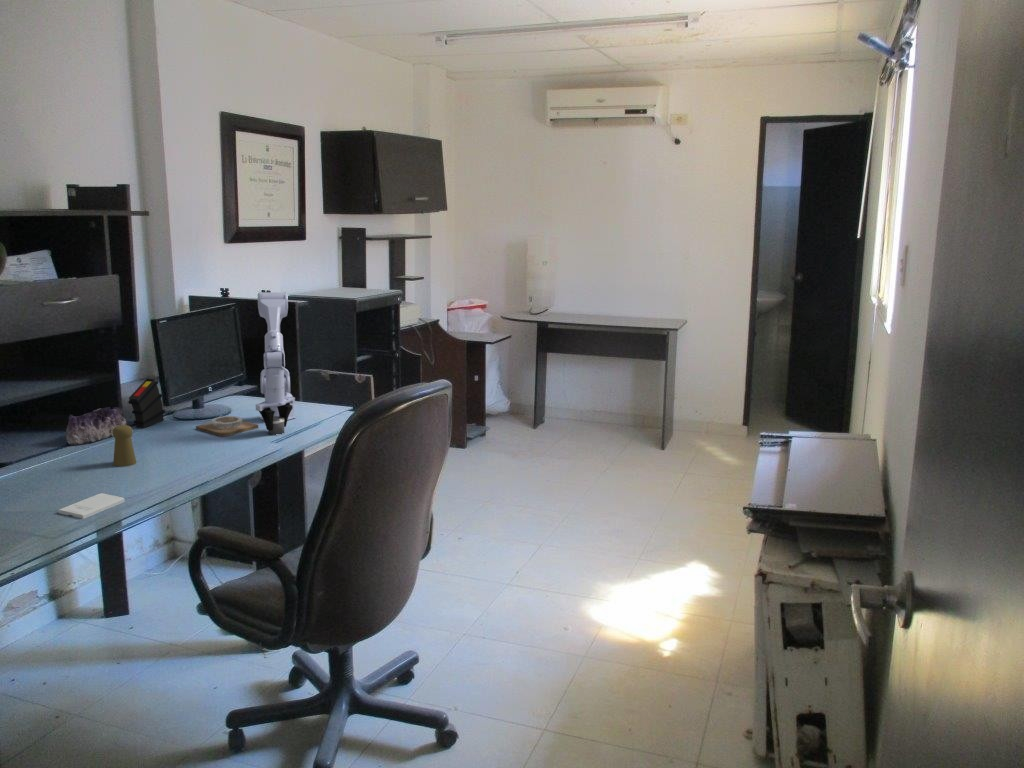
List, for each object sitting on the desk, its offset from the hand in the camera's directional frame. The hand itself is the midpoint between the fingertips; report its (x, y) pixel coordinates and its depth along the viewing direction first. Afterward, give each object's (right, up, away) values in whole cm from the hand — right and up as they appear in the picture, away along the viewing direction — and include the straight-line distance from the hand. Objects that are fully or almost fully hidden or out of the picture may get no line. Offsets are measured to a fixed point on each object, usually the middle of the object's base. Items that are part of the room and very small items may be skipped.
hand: (276, 428), depth 270 cm
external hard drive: (-26, -17, -67) cm, 74 cm away
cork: (-34, -8, -34) cm, 49 cm away
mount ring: (-17, 0, +3) cm, 18 cm away
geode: (-54, -3, -11) cm, 55 cm away
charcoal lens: (0, -2, 0) cm, 2 cm away
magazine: (-44, +1, +4) cm, 44 cm away
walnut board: (-17, 0, +3) cm, 18 cm away
